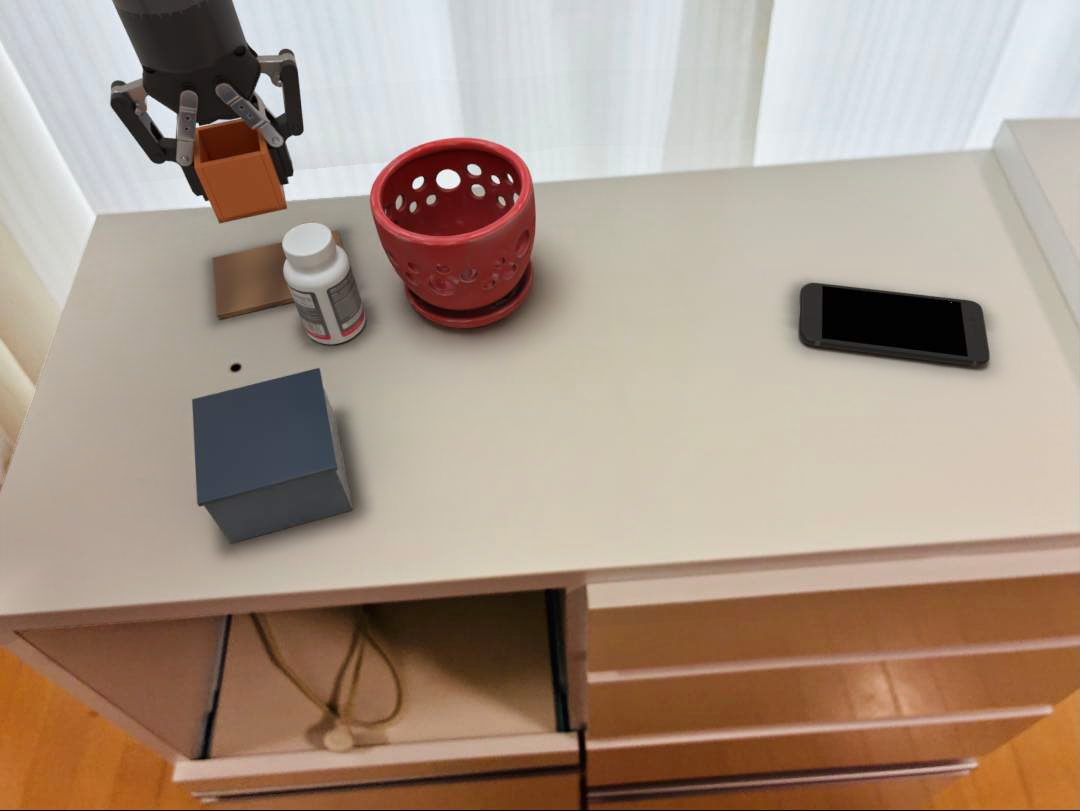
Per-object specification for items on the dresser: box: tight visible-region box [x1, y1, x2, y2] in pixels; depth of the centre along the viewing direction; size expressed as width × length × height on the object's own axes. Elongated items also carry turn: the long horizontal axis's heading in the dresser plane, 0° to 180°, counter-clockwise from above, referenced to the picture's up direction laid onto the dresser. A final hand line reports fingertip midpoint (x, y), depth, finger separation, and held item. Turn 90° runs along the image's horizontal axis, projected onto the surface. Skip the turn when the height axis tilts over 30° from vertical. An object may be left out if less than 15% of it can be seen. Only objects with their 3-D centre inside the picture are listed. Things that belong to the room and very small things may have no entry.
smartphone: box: [798, 282, 991, 367], centre depth 69 cm, size 7×15×1 cm, turn 78°
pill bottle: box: [281, 222, 367, 345], centre depth 69 cm, size 5×5×10 cm
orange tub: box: [194, 117, 288, 224], centre depth 68 cm, size 6×6×6 cm
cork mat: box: [211, 229, 343, 320], centre depth 77 cm, size 12×8×1 cm, turn 107°
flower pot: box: [369, 137, 537, 329], centre depth 70 cm, size 13×13×12 cm
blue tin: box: [191, 367, 354, 544], centre depth 61 cm, size 9×9×6 cm
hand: (247, 186), depth 69 cm, fingers closed on orange tub, 5 cm apart
